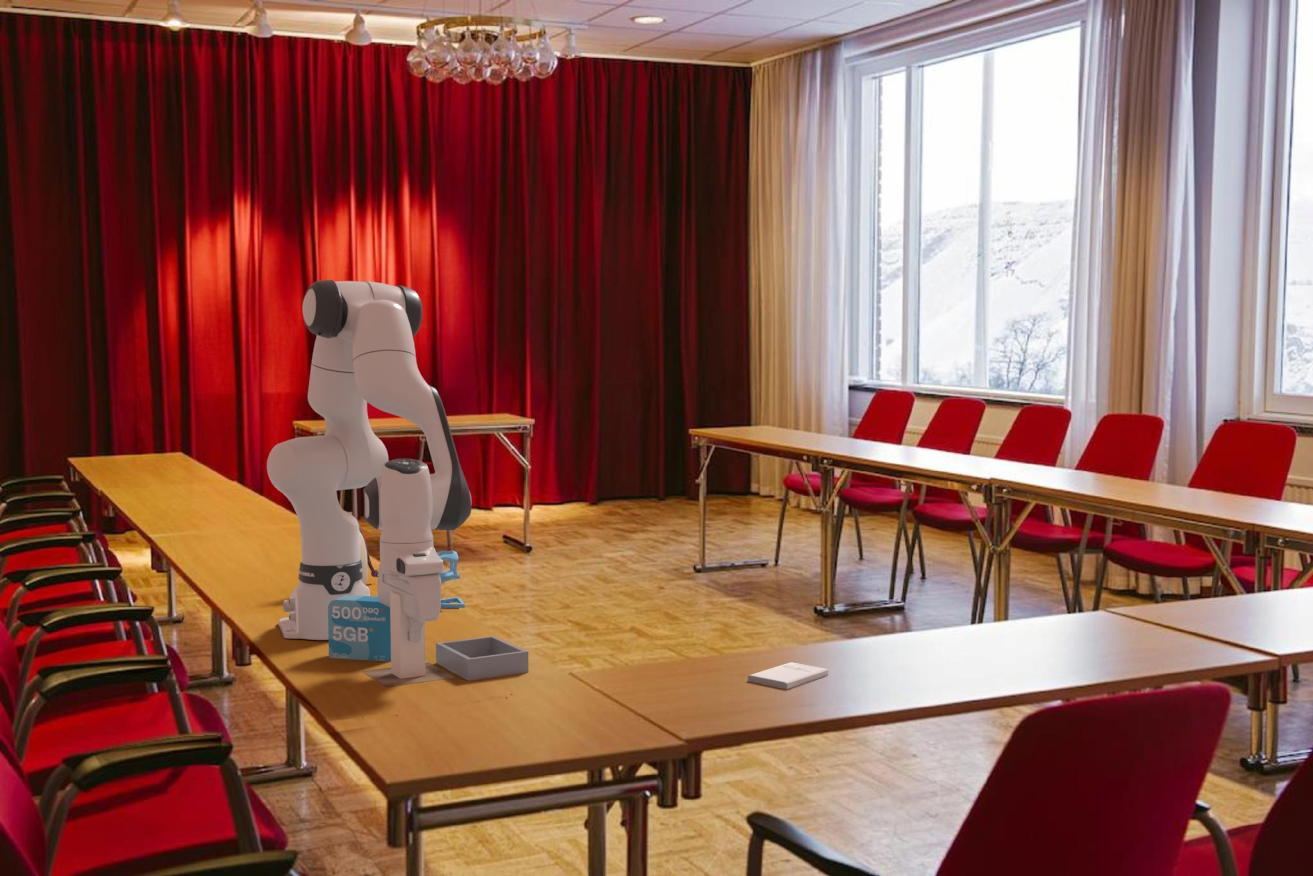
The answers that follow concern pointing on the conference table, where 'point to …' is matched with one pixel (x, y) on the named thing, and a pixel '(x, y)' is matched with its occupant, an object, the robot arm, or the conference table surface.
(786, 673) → the external hard drive
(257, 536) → the conference table surface
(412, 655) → the strut
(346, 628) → the data package
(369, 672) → the stud plate
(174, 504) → the conference table surface
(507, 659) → the bin
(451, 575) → the light blue frame stand
